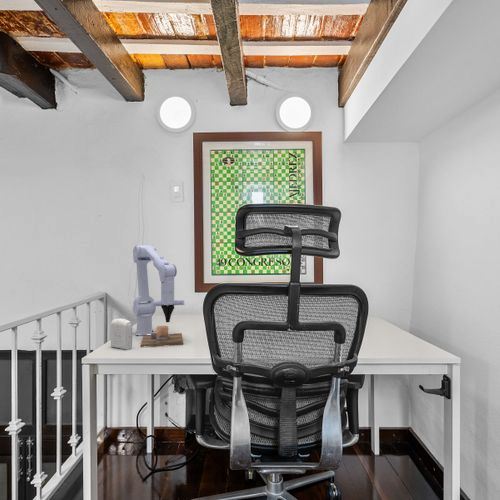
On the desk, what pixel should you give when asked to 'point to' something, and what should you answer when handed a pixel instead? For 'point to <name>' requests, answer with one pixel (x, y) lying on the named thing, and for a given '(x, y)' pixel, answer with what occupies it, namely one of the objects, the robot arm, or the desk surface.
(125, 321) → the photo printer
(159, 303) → the robot arm
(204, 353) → the desk surface
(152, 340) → the walnut base
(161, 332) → the wooden tool handle
